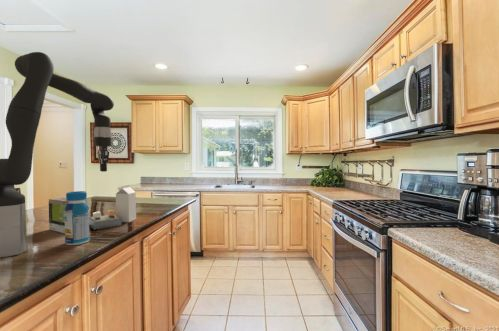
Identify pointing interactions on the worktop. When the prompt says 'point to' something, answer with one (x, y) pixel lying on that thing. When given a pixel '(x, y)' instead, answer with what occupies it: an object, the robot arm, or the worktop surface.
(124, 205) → the milk carton
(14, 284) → the worktop surface
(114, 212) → the paddle orange
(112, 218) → the switch box
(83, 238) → the blue plastic bottle
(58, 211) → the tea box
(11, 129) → the robot arm
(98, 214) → the paddle white
